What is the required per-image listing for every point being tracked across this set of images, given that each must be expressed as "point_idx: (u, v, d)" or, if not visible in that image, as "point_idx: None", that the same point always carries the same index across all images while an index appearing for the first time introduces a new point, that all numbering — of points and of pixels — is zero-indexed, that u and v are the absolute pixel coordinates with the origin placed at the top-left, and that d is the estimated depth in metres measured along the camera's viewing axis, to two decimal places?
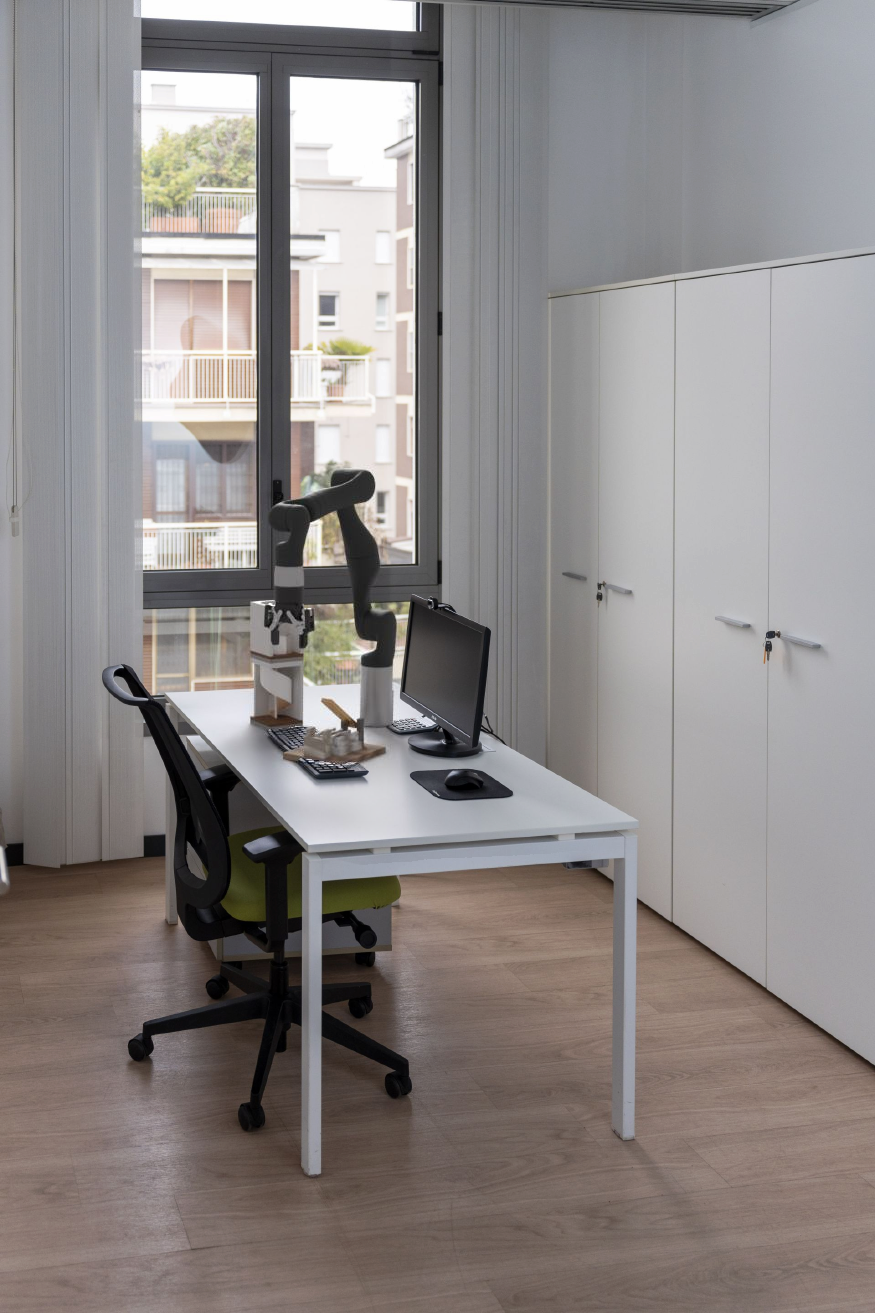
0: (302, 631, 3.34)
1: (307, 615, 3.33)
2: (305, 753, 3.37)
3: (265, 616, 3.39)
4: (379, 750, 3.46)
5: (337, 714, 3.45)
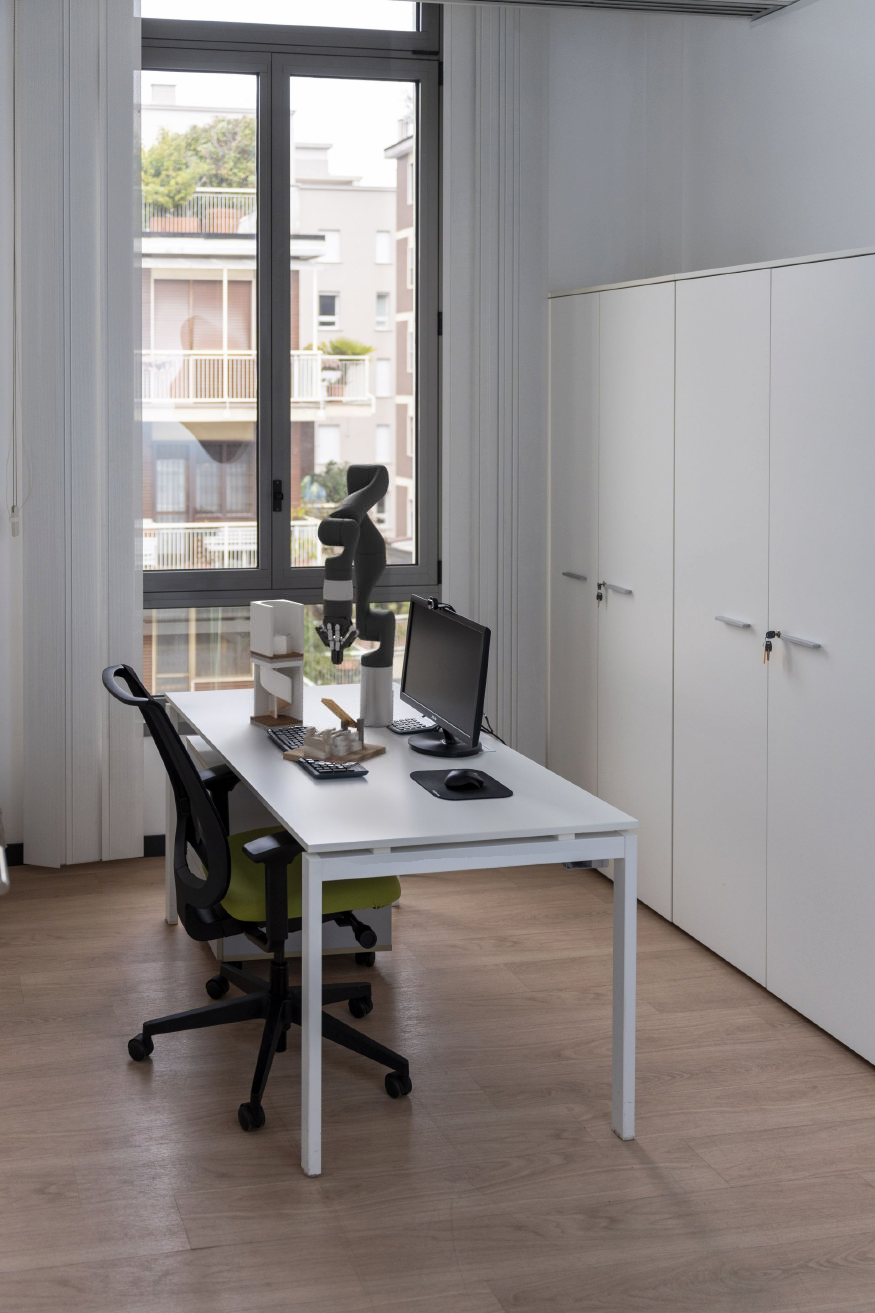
0: (338, 647, 3.38)
1: (351, 636, 3.36)
2: (305, 753, 3.37)
3: (321, 637, 3.40)
4: (379, 750, 3.46)
5: (337, 714, 3.45)
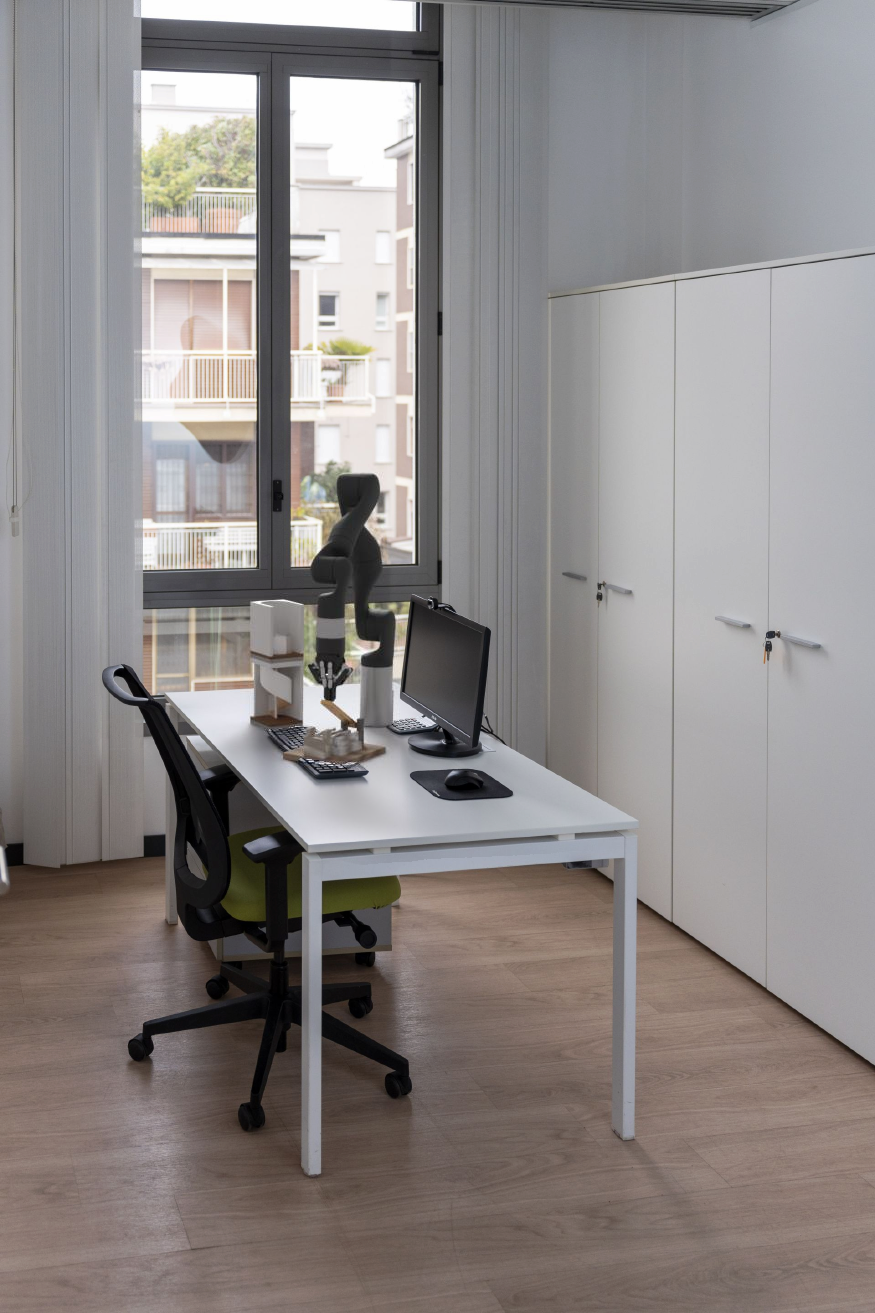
0: (331, 685, 3.37)
1: (344, 674, 3.35)
2: (305, 753, 3.37)
3: (314, 675, 3.39)
4: (379, 750, 3.46)
5: (336, 715, 3.45)
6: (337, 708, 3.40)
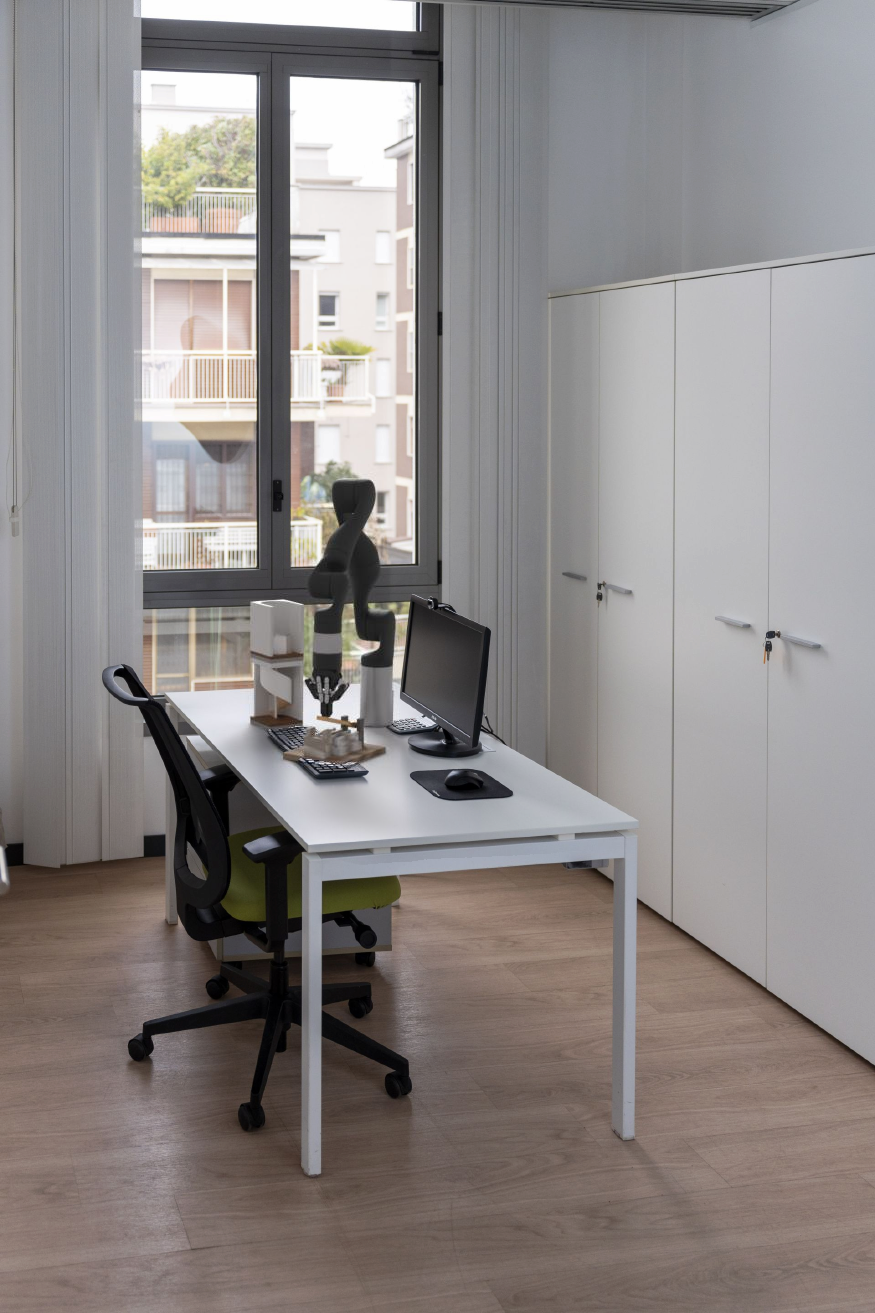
0: (327, 700, 3.37)
1: (341, 690, 3.34)
2: (305, 753, 3.37)
3: (310, 690, 3.39)
4: (379, 750, 3.46)
5: None
6: (334, 720, 3.40)
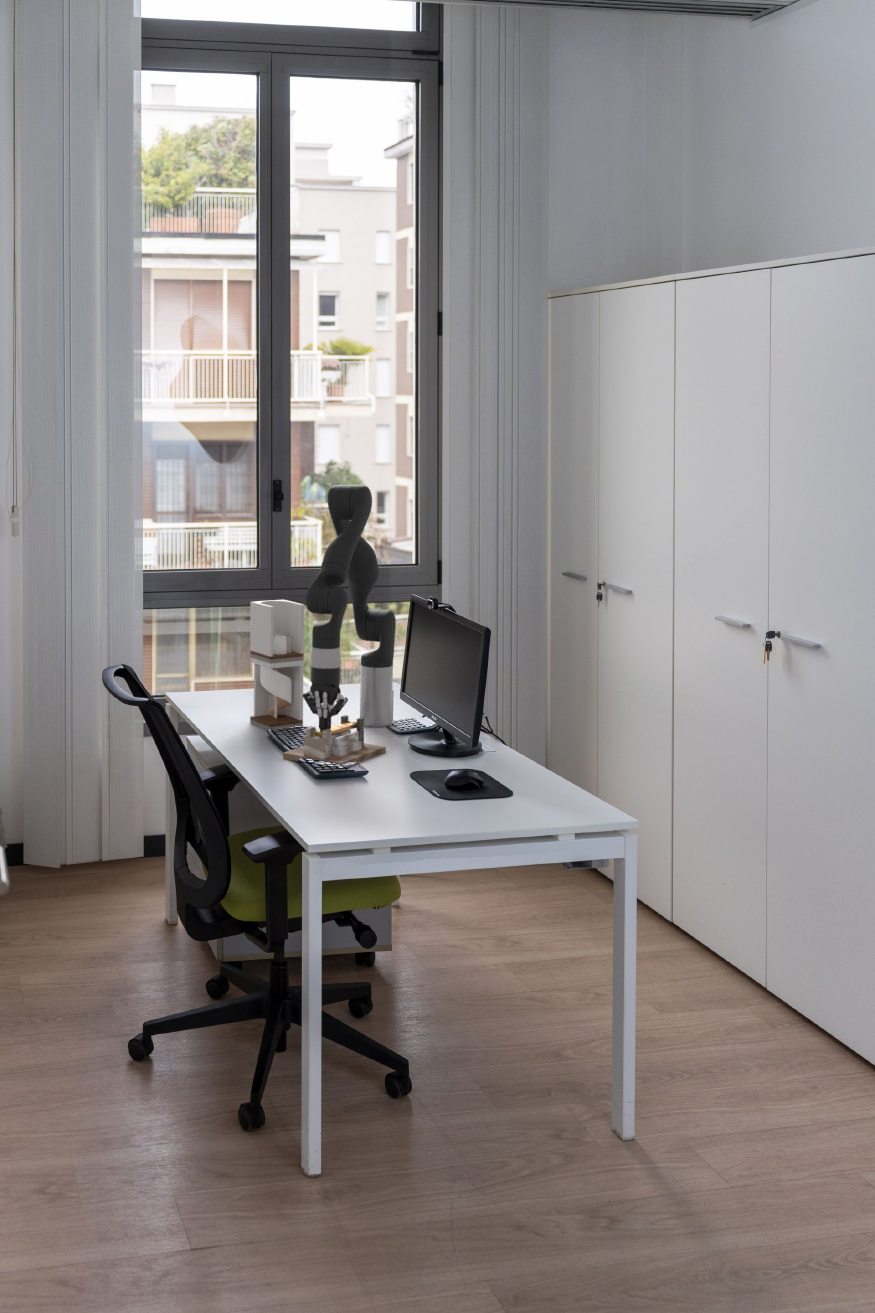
0: (326, 715, 3.37)
1: (339, 704, 3.34)
2: (305, 753, 3.37)
3: (309, 704, 3.39)
4: (379, 750, 3.46)
5: None
6: (333, 732, 3.40)
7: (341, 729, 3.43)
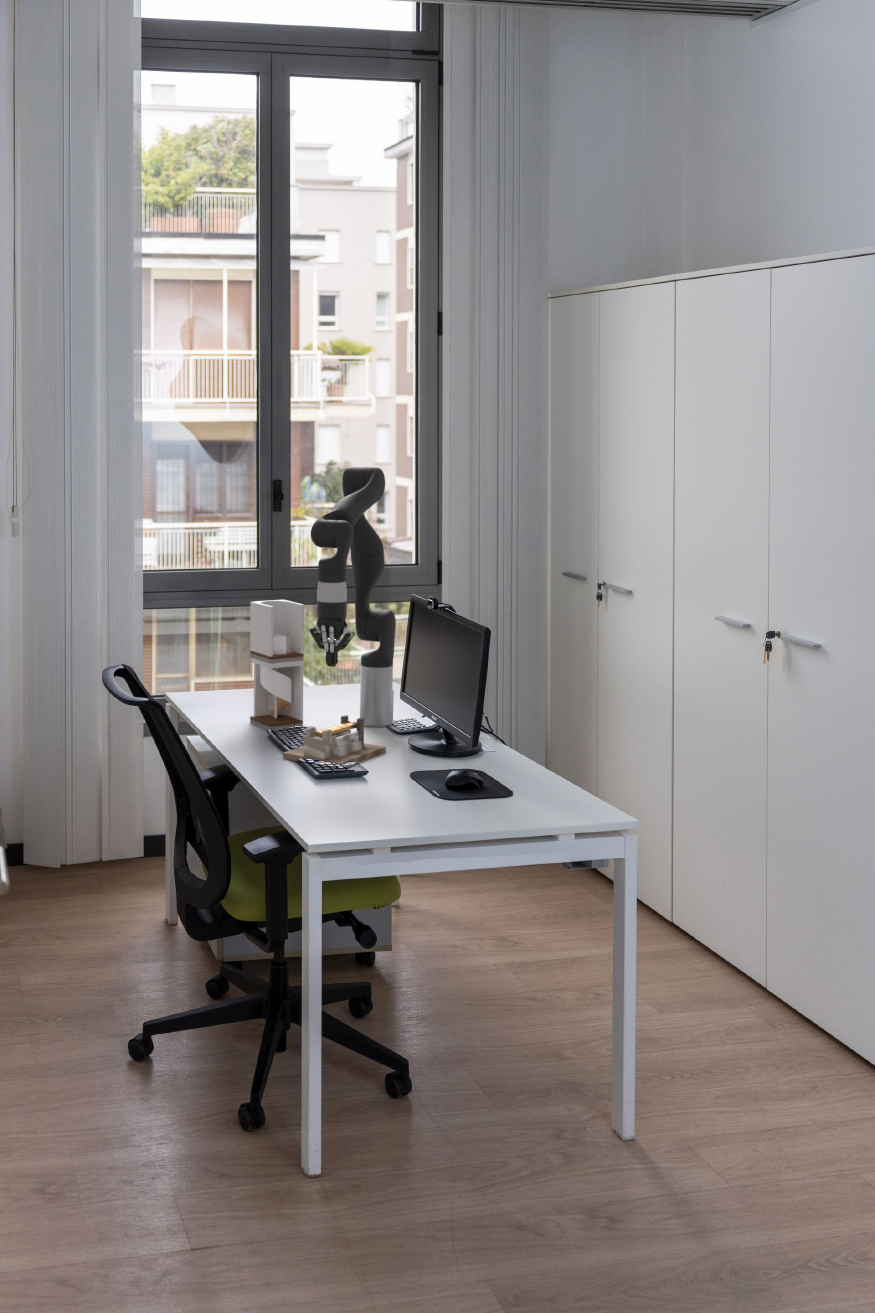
0: (332, 649, 3.36)
1: (346, 638, 3.34)
2: (305, 753, 3.37)
3: (315, 639, 3.38)
4: (379, 750, 3.46)
5: None
6: (333, 732, 3.40)
7: (341, 729, 3.43)
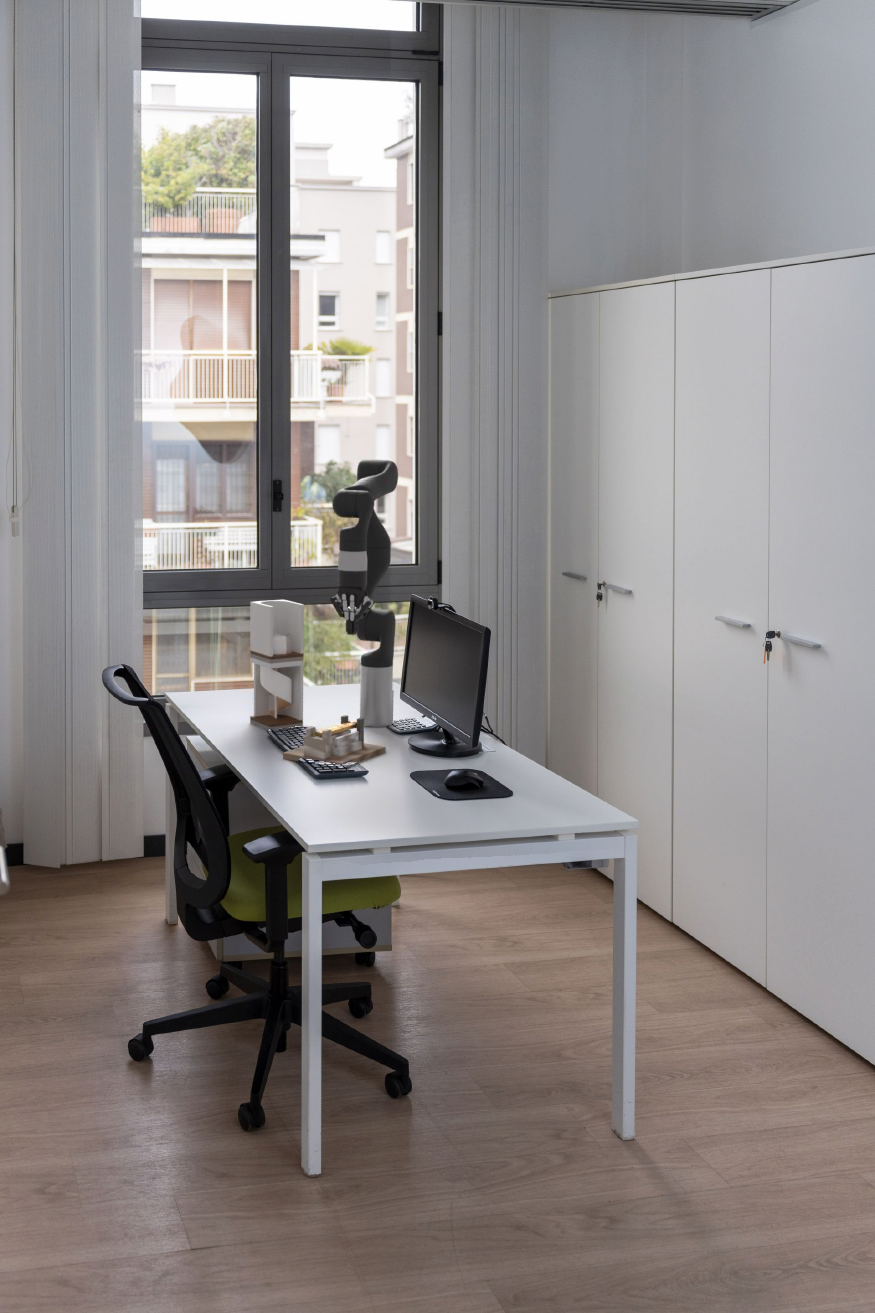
0: (353, 618, 3.43)
1: (366, 607, 3.40)
2: (305, 753, 3.37)
3: (336, 608, 3.45)
4: (379, 750, 3.46)
5: None
6: (333, 732, 3.40)
7: (341, 729, 3.43)
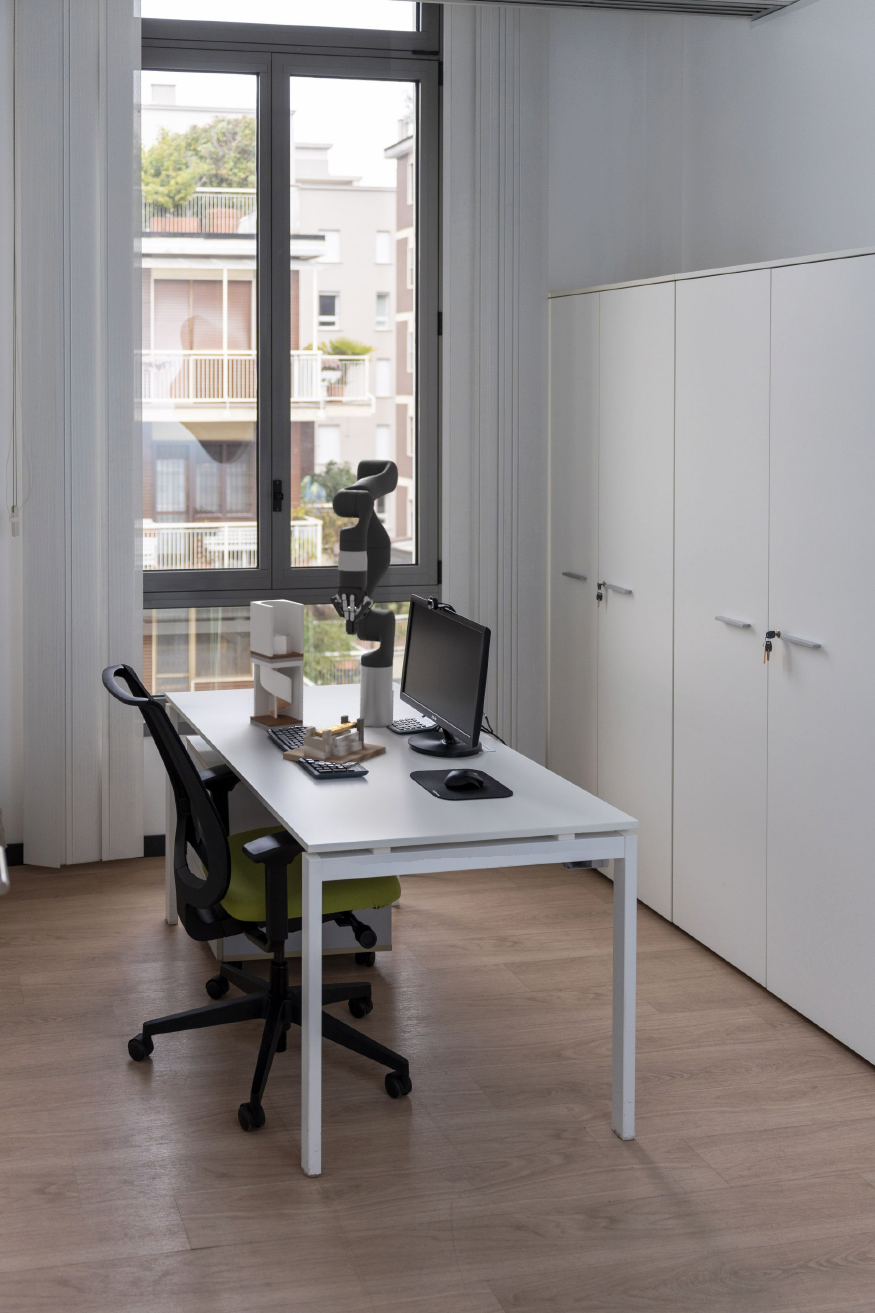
0: (353, 618, 3.43)
1: (366, 607, 3.40)
2: (305, 753, 3.37)
3: (336, 608, 3.45)
4: (379, 750, 3.46)
5: None
6: (333, 732, 3.40)
7: (341, 729, 3.43)
